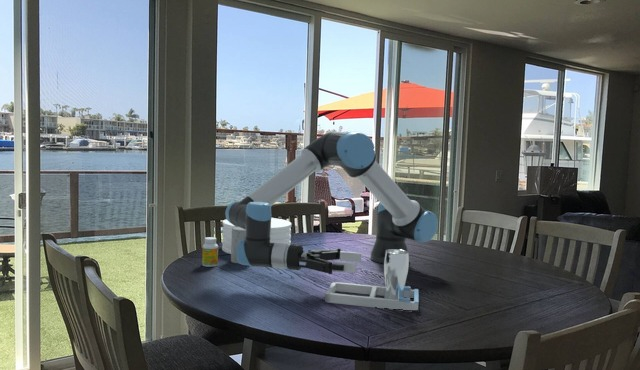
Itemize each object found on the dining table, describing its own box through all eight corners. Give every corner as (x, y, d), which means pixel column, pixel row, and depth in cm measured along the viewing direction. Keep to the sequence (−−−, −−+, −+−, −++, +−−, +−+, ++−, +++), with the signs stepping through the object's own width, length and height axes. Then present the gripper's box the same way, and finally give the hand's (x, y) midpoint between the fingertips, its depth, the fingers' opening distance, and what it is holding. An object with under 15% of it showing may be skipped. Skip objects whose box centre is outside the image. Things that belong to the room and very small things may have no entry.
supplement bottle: (201, 267, 178) (202, 239, 177) (202, 263, 183) (203, 236, 182) (217, 267, 179) (218, 239, 178) (217, 263, 184) (218, 236, 183)
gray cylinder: (225, 261, 187) (226, 228, 186) (239, 256, 196) (240, 224, 195) (248, 265, 184) (249, 231, 183) (261, 259, 193) (262, 227, 191)
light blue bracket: (398, 310, 142) (399, 298, 141) (400, 296, 155) (400, 285, 154) (417, 312, 141) (418, 300, 140) (417, 298, 154) (418, 287, 153)
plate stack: (261, 261, 192) (263, 230, 191) (207, 249, 206) (208, 221, 205) (303, 249, 215) (304, 222, 214) (251, 240, 230) (252, 214, 229)
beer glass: (405, 307, 144) (409, 255, 143) (380, 304, 146) (384, 252, 144) (406, 300, 151) (409, 250, 150) (382, 297, 153) (385, 248, 151)
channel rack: (325, 302, 145) (325, 293, 145) (332, 289, 158) (332, 281, 158) (417, 312, 141) (418, 303, 141) (417, 298, 154) (418, 290, 153)
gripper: (297, 259, 166) (362, 265, 162) (276, 279, 141) (353, 287, 138) (298, 236, 165) (363, 242, 161) (277, 253, 141) (354, 259, 137)
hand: (358, 262), depth 149 cm, fingers open, 13 cm apart
